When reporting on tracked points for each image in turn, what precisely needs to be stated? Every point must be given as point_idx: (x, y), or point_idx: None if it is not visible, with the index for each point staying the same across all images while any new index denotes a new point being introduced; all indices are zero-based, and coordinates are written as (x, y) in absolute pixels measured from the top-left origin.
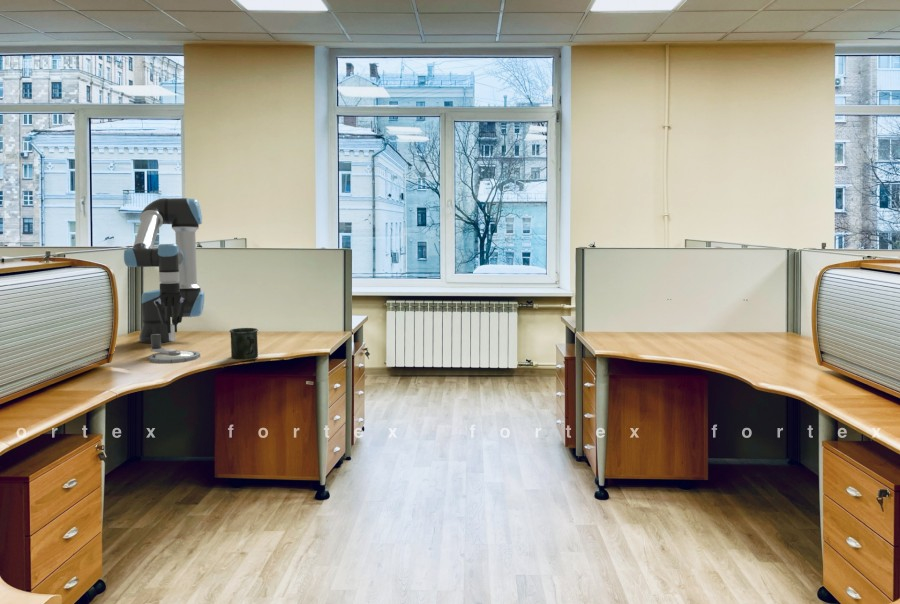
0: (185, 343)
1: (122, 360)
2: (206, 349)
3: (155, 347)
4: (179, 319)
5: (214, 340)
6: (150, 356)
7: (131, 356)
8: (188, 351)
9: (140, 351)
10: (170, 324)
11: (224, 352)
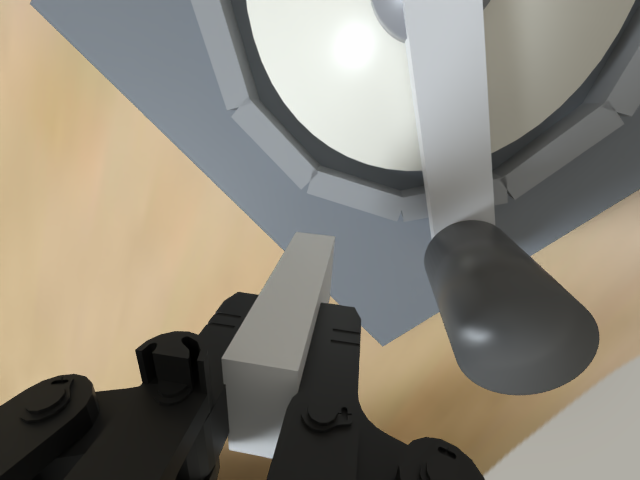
0: None
1: (633, 326)
2: (94, 268)
3: (503, 233)
4: (13, 449)
5: None
6: (630, 89)
7: None
8: (246, 89)
9: None
10: (297, 392)
11: (5, 81)
